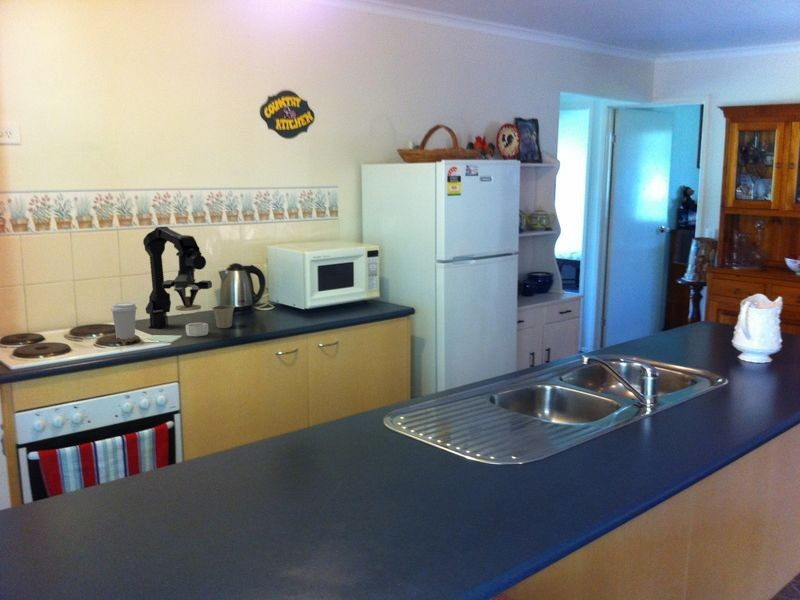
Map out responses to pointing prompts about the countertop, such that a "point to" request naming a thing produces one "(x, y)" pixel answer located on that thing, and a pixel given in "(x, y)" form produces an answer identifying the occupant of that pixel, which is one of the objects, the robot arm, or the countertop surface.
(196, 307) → the lid
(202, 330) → the bowl
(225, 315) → the flower pot
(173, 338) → the mat
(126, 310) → the coffee cup
